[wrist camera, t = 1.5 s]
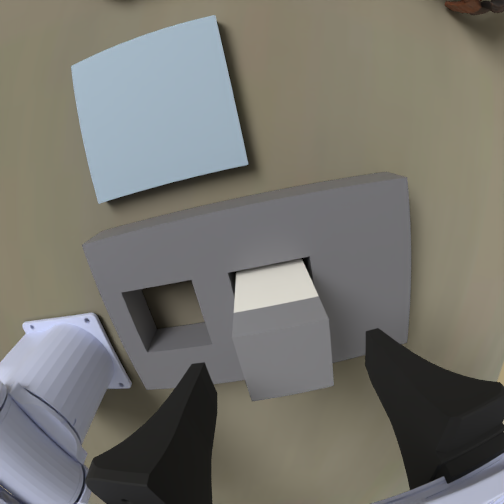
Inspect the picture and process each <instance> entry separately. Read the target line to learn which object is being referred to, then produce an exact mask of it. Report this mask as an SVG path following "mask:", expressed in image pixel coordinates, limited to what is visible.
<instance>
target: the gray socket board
mask: <svg viewBox="0 0 504 504" xmlns="http://www.w3.org/2000/svg"><path fill="white" fill-rule="evenodd" d="M82 247H83V250H84V253H85V255H86V258H87V261H88V264H89V267H90V269H91V272H92V274H93V277H94V280H95V282H96V285H97V287H98V290H99V292H100V295H101V297H102V300H103V302H104V304H105V307H106V309H107V311H108V313H109V316H110V318H111V320H112V322H113V325H114V327H115V329H116V331H117V333H118V335H119V338H120V340H121V342H122V344H123V346H124V348H125V350H126V352H127V354H128V356H129V358H130V360H131V362H132V364H133V366H134V367H135V369H136V371H137V373H138V375H139V377H140V379H141V381H142V382H143V384H144V386H145V388H146V390H150V389H166V388H175V387H176V386H177V385H178V383H179V382H180V380H181V379H182V377H183V376H184V374H185V373H186V371H187V370H188V368H189V367H190V366H191V364H194V363H203V362H205V365H206V367H207V370H208V372H209V375H210V377H211V380H212V382H213V384H218V383H226V382H234V381H241V380H245V378H244V375H243V372H242V369H241V366H240V362H239V359H238V356H237V353H236V349H235V346H234V343H233V339H232V330H233V315H234V300H235V285H236V276H235V272H234V271H239V270H244V269H249V268H254V267H260V266H265V265H270V264H275V263H280V262H285V261H290V260H294V259H299V258H304V262H305V267H306V269H307V272H308V274H309V276H310V278H311V280H312V283H313V285H314V287H315V289H316V291H317V294H318V296H319V298H320V300H321V303H322V305H323V307H324V309H325V312H326V314H327V316H328V319H329V328H330V339H331V352H332V363H335V362H339V361H343V360H347V359H351V358H355V357H359V356H362V355H365V352H366V331H369V330H372V329H376V328H379V329H380V330H382V331H383V332H384V333H386V334H387V335H389V336H390V337H391V338H393V339H394V340H395V341H397V342H398V343H400V344H404V343H407V338H408V326H409V312H410V292H411V228H410V208H409V194H408V182H407V177H404V176H400V175H397V174H393V173H389V172H381V173H374V174H368V175H361V176H355V177H348V178H342V179H336V180H330V181H324V182H318V183H313V184H307V185H302V186H296V187H291V188H285V189H280V190H275V191H270V192H265V193H260V194H255V195H250V196H245V197H240V198H236V199H231V200H226V201H222V202H217V203H213V204H208V205H204V206H199V207H195V208H191V209H186V210H182V211H178V212H174V213H170V214H166V215H162V216H158V217H154V218H150V219H146V220H142V221H138V222H134V223H130V224H126V225H123V226H119V227H115V228H112V229H108V230H104V231H101V232H100V233H98V234H97V235H95V236H94V237H92V238H91V239H90V240H88V241H87V242H85V243H84V244H82ZM187 280H192V283H193V286H194V290H195V293H196V296H197V299H198V302H199V305H200V308H201V312H202V315H203V318H204V321H205V322H203V323H196V324H190V325H183V326H176V327H169V328H162V329H157V328H156V325H155V323H154V321H153V318H152V316H151V313H150V311H149V308H148V305H147V303H146V300H145V298H144V295H143V292H142V290H141V289H144V288H149V287H155V286H160V285H166V284H171V283H176V282H182V281H187Z"/></svg>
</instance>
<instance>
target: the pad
mask: <svg viewBox="0 0 504 504" xmlns="http://www.w3.org/2000/svg"><path fill="white" fill-rule="evenodd" d="M71 69H72V78H73V85H74V92H75V99H76V105H77V111H78V117H79V122H80V127H81V133H82V138H83V142H84V147H85V152H86V156H87V160H88V165H89V169H90V173H91V177H92V181H93V185H94V189H95V192H96V196H97V200H98V203H102V202H106V201H109V200H112V199H115V198H119V197H122V196H125V195H129V194H132V193H135V192H139V191H142V190H146V189H150V188H153V187H157V186H161V185H164V184H168V183H172V182H176V181H180V180H184V179H188V178H192V177H196V176H200V175H204V174H208V173H213V172H217V171H221V170H226V169H230V168H235V167H240V166H245V165H248V160H247V155H246V151H245V146H244V141H243V137H242V132H241V127H240V123H239V118H238V114H237V109H236V105H235V100H234V96H233V91H232V87H231V82H230V78H229V73H228V69H227V64H226V60H225V56H224V51H223V47H222V42H221V38H220V34H219V29H218V25H217V21H216V17H215V15H213V16H209V17H205V18H200V19H196V20H192V21H188V22H185V23H181V24H178V25H174V26H171V27H167V28H164V29H161V30H158V31H155V32H152V33H149V34H146V35H143V36H140V37H137V38H135V39H132V40H129V41H127V42H124V43H121V44H119V45H116V46H114V47H112V48H109V49H107V50H105V51H102V52H100V53H98V54H95V55H93V56H91V57H89V58H87V59H85V60H83V61H81V62H79V63H77V64H75V65H73V66H71Z"/></svg>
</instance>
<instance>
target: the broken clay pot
mask: <svg viewBox="0 0 504 504" xmlns="http://www.w3.org/2000/svg"><path fill="white" fill-rule="evenodd" d="M480 1H482V0H461V1H458V2H450V1H446V2H445V6H446V7H448V8H449V9H451V10H452V11H455V12H460V13H469V14H470V15H477V14H483V13H486V12H489V11H492V12H494V13H499V12H503V11H504V0H491V1H483V2H480Z"/></svg>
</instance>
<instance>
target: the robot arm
mask: <svg viewBox="0 0 504 504" xmlns="http://www.w3.org/2000/svg"><path fill="white" fill-rule="evenodd" d="M87 318H88V319H89V320H90V321H88V320H87ZM33 326H34V327H33ZM23 329H24V331H25V333H26V334H25V335H24V336H23V337H22V339H21V340H20V341H19V342H18V343H17V344H16V345H15V346H14V347H13V348H12V350H11V351H10V352H9V353H8V354H7V355H6V356H5V358H4V359H3V360H2V361H1V362H0V485H1V486H2V487H3V488H2V487H1V486H0V504H87V503H88V501H89V499H90V495H91V491H92V492H93V493H94V494H95V495H97V496H98V497H99V498H100V499H101V500H103V501H104V502H105V503H107V504H212V487H211V457H212V447H213V440H214V432H215V425H216V417H217V392H216V389H215V387H214V385H213V382H212V380H211V377H210V375H209V372H208V370H207V367H206V365H205V362H203V363H194V364H191V366H190V367H189V368H188V370H187V371H186V373H185V374H184V376H183V377H182V379H181V380H180V382H179V383H178V385H177V386H176V387H175V389H174V390H173V392H172V393H171V394H170V396H169V397H168V398H167V400H166V401H165V402H164V403H163V405H162V406H161V407H160V408H159V409H158V411H157V412H156V413H155V414H154V415H153V416H152V417H151V418H150V419H149V420H148V421H147V422H146V423H145V424H144V425H143V426H142V427H140V428H139V429H138V430H137V431H136V432H134V433H133V434H132V435H131V436H130V437H128V438H127V439H125V440H124V441H123V442H121V443H120V444H118V445H117V446H115V447H113V448H112V449H110V450H108V451H106V452H104V453H103V454H101V455H99V456H97V457H95V458H93V460H92V463H91V465H90V468H89V469H88V468H87V467H86V466H85V465H84V461H85V459H86V456H87V452H86V451H85V450H84V449H83V448H82V446H81V445H82V443H83V441H84V438H85V436H86V434H87V431H88V429H89V427H90V425H91V422H92V420H93V418H94V416H95V414H96V411H97V409H98V407H99V405H100V403H101V401H102V398H103V396H104V394H105V392H106V390H107V389H122V388H130V387H131V385H132V383H131V381H130V379H129V377H128V375H127V373H126V372H125V370H124V368H123V366H122V364H121V362H120V361H119V359H118V357H117V355H116V353H115V351H114V349H113V347H112V345H111V343H110V341H109V339H108V337H107V335H106V333H105V331H104V329H103V326H102V324H101V322H100V320H99V318H98V316H97V315H96V314H94V313H86V314H79V315H72V316H65V317H58V318H50V319H43V320H35V321H27V322H24V323H23ZM365 366H366V368H367V371H368V374H369V377H370V380H371V383H372V385H373V387H374V389H375V391H376V393H377V395H378V397H379V399H380V401H381V403H382V405H383V407H384V409H385V411H386V413H387V415H388V417H389V419H390V421H391V424H392V426H393V429H394V432H395V435H396V438H397V441H398V444H399V447H400V451H401V454H402V457H403V461H404V465H405V469H406V473H407V477H408V482H409V487H410V491H407V492H404V493H402V494H399V495H396V496H393V497H390V498H387V499H384V500H381V501H378V502H374V503H371V504H503V503H504V425H503V423H502V422H503V420H504V386H503V385H502V384H501V383H500V382H492V381H485V380H479V379H475V378H470V377H466V376H463V375H460V374H457V373H454V372H451V371H448V370H446V369H443V368H441V367H439V366H437V365H435V364H432V363H430V362H428V361H427V360H425V359H423V358H421V357H420V356H418V355H416V354H414V353H413V352H411V351H410V350H408V349H407V348H405V347H404V346H402V345H401V344H400V343H398V342H397V341H395V340H394V339H393V338H391V337H390V336H389V335H387V334H386V333H384V332H383V331H382V330H380V329H379V328H376V329H372V330H369V331H366V352H365ZM121 383H122V384H121ZM4 488H5V489H6V490H7V491H8V492H7V491H6V490H5V489H4ZM9 492H10V493H11V494H12V495H11V494H10V493H9ZM13 495H14V496H13Z"/></svg>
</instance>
